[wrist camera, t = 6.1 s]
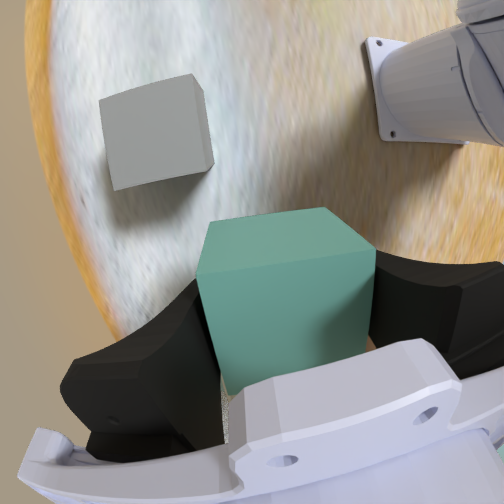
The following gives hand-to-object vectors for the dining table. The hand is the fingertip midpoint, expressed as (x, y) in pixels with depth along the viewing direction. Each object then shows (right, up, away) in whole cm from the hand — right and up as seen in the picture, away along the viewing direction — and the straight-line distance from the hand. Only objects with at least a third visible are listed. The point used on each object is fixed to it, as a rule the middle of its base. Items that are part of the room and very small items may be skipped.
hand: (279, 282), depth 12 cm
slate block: (-6, +9, +5) cm, 12 cm away
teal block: (0, +1, +1) cm, 2 cm away
